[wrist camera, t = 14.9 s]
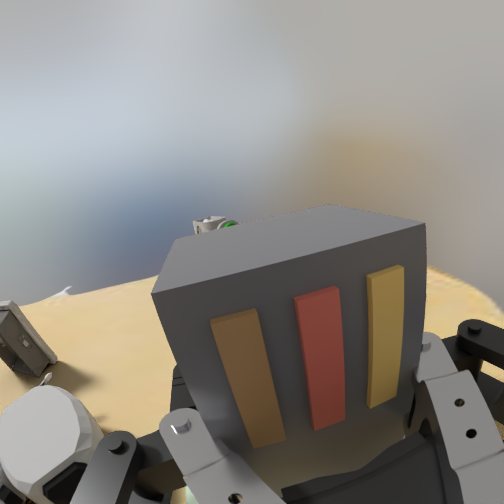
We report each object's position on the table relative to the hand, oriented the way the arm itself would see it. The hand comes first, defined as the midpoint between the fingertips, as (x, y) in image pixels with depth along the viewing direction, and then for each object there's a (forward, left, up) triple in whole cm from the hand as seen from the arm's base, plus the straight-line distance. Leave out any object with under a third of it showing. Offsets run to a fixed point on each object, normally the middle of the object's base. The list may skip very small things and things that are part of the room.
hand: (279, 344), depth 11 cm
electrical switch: (-28, +15, -8) cm, 33 cm away
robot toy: (-18, -1, -8) cm, 20 cm away
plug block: (0, -3, -7) cm, 7 cm away
